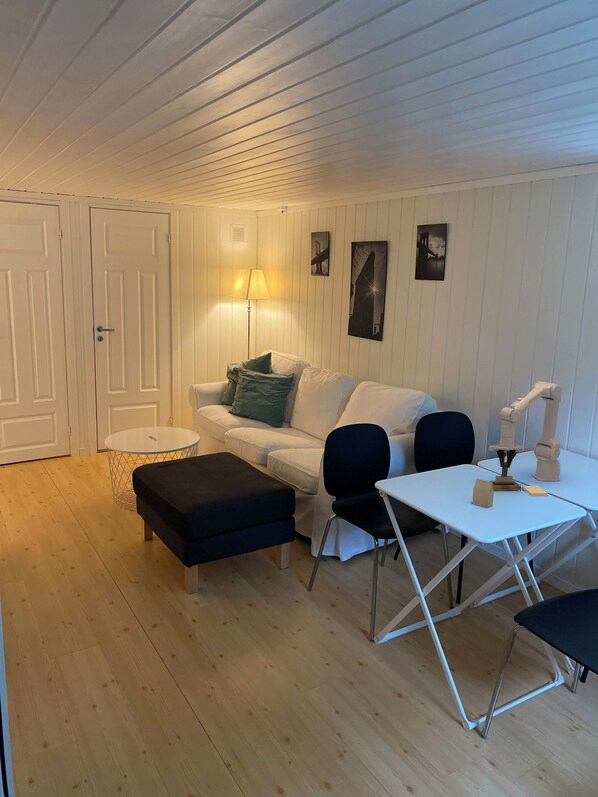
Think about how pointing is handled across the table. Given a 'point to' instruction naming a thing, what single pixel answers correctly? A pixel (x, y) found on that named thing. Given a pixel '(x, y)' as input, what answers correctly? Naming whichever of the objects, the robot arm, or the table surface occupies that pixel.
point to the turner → (504, 477)
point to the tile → (534, 491)
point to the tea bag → (483, 493)
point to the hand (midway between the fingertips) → (505, 467)
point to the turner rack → (506, 487)
